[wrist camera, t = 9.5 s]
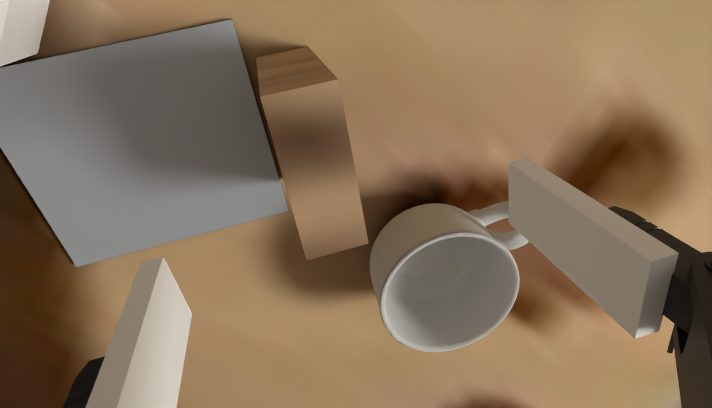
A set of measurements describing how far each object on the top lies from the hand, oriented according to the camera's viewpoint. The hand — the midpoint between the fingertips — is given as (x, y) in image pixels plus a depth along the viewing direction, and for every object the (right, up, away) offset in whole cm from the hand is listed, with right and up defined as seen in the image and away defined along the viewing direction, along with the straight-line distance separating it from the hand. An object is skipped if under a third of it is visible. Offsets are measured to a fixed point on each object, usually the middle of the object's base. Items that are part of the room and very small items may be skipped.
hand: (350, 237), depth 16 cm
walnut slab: (-4, +8, +14) cm, 17 cm away
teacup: (+7, -1, +22) cm, 23 cm away
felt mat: (-14, +5, +13) cm, 20 cm away
